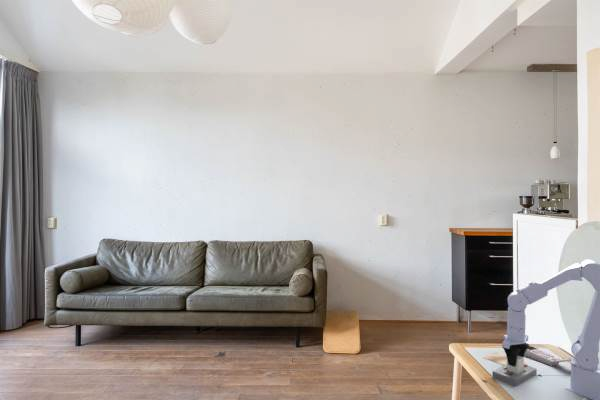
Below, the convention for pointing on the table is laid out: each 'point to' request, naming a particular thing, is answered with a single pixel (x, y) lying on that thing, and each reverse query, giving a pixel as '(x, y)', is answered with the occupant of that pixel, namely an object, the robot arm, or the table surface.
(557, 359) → the mobile phone
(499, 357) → the cork coaster
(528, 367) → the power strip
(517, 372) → the white rectangular block
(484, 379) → the table surface
